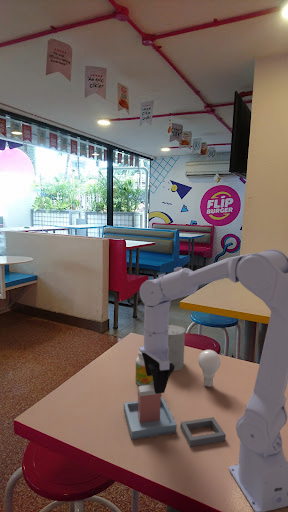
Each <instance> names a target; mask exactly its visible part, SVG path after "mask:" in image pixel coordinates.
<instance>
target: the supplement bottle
mask: <svg viewBox="0 0 288 512" xmlns="http://www.w3.org/2000/svg"><path fill="white" fill-rule="evenodd" d="M137 352H138V353H137V355H138V356H137V357H136V360H135V383H136V384H137V385H138V386H145V385H153V377H152V376H147V374H146V370H145V364H144V359H143V356H142V353H140V351H139V350H138V351H137Z"/></svg>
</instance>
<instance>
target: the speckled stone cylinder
mask: <svg viewBox="0 0 288 512" xmlns="http://www.w3.org/2000/svg"><path fill="white" fill-rule="evenodd" d="M168 330H169V331H168V347H169V355H168V359H169V361H170V363H172V364H173V365H174V371H173V372H176V371H179V370H182V369H183V368H184V366H185V363H184V362H185V360H184V359H185V339H186V337H185V336H186V328H185V327H184V326H181V325H179V324H175V323H174V324H173V323H169V329H168Z"/></svg>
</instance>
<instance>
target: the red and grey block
mask: <svg viewBox="0 0 288 512" xmlns="http://www.w3.org/2000/svg"><path fill="white" fill-rule="evenodd" d="M137 393H138V394H137V401H138V419H139V422H140V423H145V422H152V421H159V420H160V403H161V398H162V397H161V396H162V393H159V394H156V393H155V390H154V385H153V384H151V385H145V386H140V385H138V387H137Z"/></svg>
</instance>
